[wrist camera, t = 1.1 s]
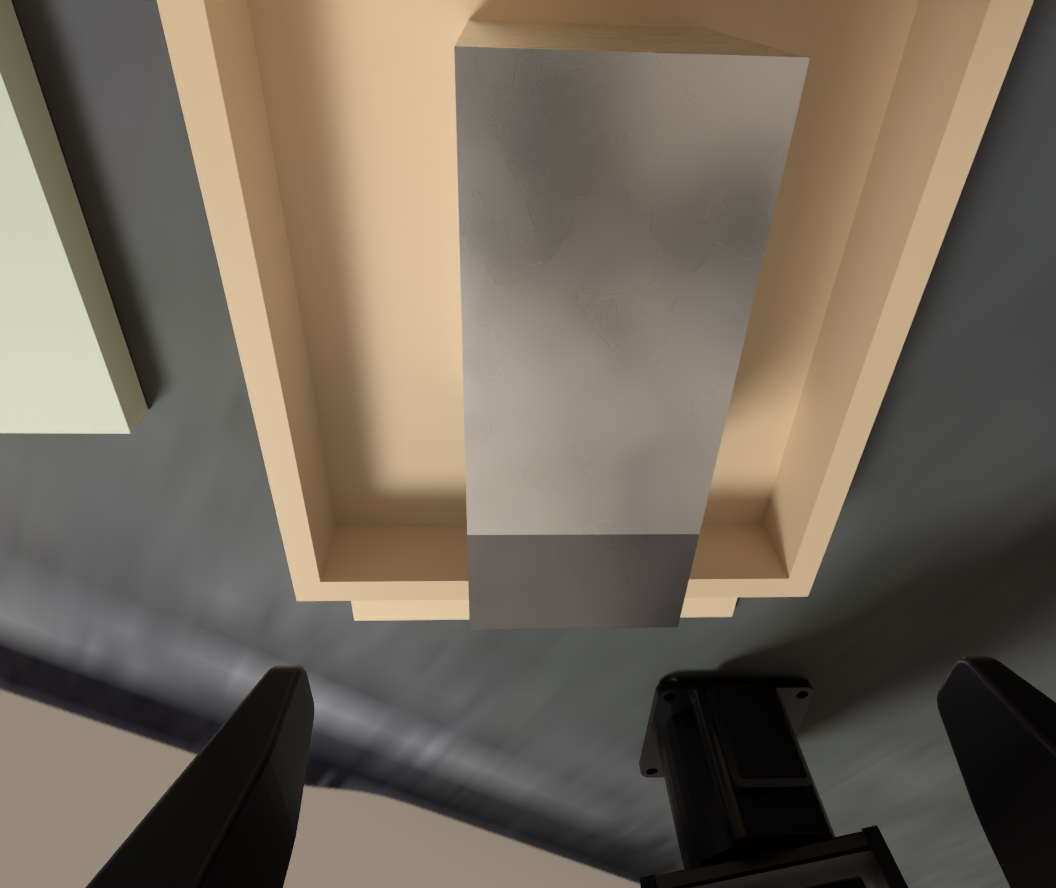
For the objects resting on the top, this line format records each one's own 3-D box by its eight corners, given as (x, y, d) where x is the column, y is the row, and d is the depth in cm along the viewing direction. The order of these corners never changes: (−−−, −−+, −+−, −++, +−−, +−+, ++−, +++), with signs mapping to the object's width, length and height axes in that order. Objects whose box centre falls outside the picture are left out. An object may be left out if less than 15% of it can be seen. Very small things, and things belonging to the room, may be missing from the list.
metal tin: (635, 475, 21) (677, 627, 16) (475, 475, 21) (469, 629, 16) (703, 28, 15) (809, 58, 10) (467, 20, 14) (454, 45, 9)
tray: (750, 610, 26) (852, 865, 19) (333, 614, 25) (266, 882, 18) (983, -129, 14) (1558, -245, 6) (184, -166, 13) (-235, -349, 5)
